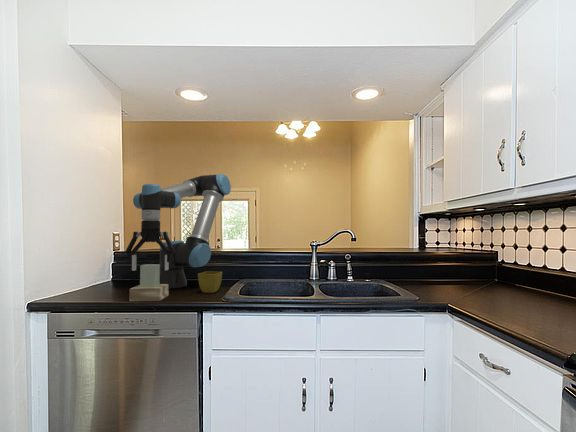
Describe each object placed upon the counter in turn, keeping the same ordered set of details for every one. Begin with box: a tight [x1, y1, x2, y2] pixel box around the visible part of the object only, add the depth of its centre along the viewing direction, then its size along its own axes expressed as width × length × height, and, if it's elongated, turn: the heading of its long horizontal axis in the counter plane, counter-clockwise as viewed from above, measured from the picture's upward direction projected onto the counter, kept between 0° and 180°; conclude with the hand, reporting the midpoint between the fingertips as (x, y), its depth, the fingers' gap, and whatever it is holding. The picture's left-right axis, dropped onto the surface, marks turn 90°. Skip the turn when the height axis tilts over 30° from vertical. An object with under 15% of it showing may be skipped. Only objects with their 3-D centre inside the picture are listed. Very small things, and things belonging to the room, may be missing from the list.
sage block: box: [139, 263, 160, 288], centre depth 144 cm, size 6×6×9 cm
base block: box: [128, 284, 170, 302], centre depth 144 cm, size 12×12×5 cm
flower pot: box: [197, 271, 223, 294], centre depth 158 cm, size 9×9×9 cm
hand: (150, 270), depth 144 cm, fingers open, 13 cm apart
